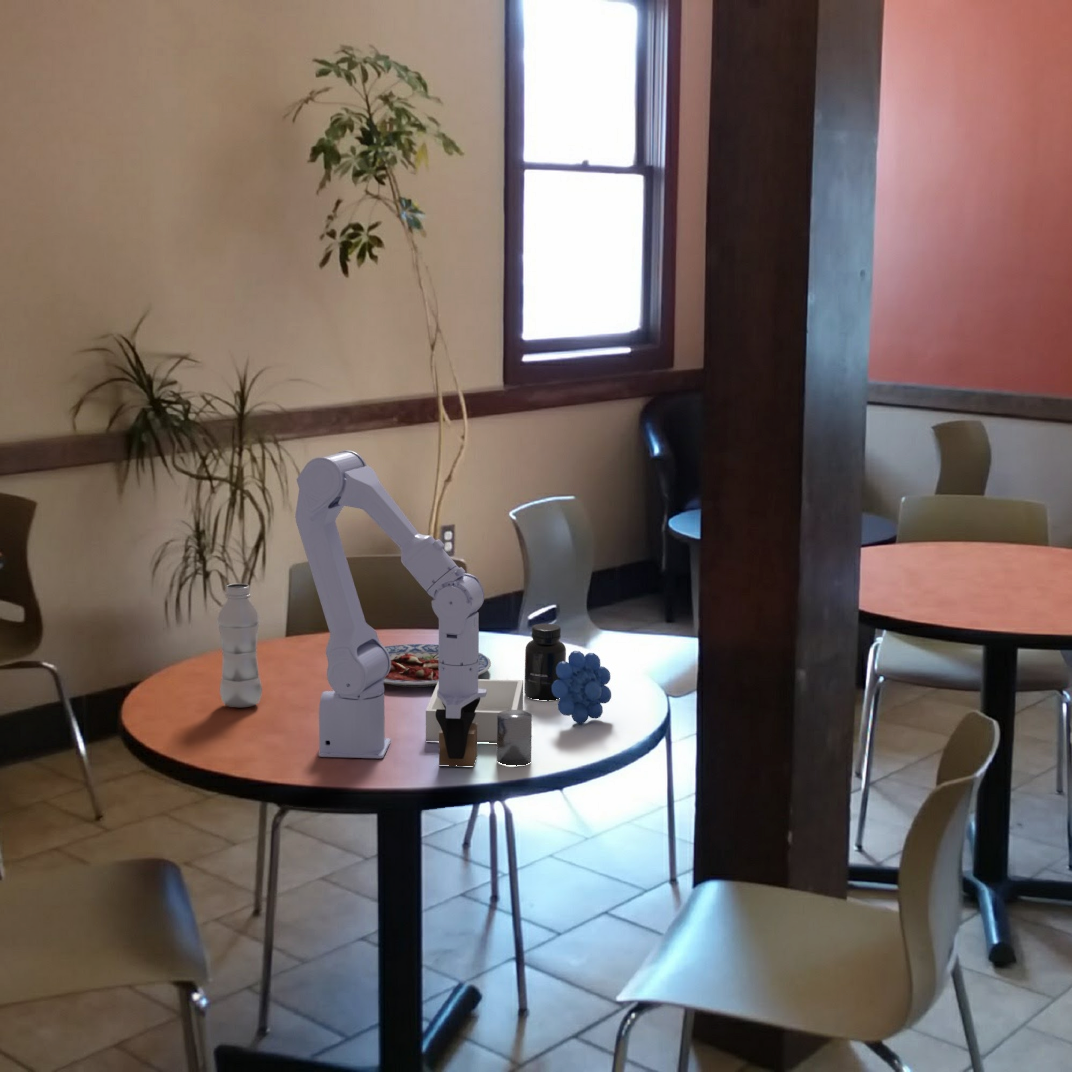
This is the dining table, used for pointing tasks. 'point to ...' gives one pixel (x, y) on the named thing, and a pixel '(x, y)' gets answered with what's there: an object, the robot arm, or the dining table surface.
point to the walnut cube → (469, 752)
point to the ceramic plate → (419, 665)
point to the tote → (481, 708)
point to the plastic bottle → (239, 648)
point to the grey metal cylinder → (514, 737)
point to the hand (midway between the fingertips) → (458, 751)
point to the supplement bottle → (543, 661)
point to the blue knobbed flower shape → (581, 686)
